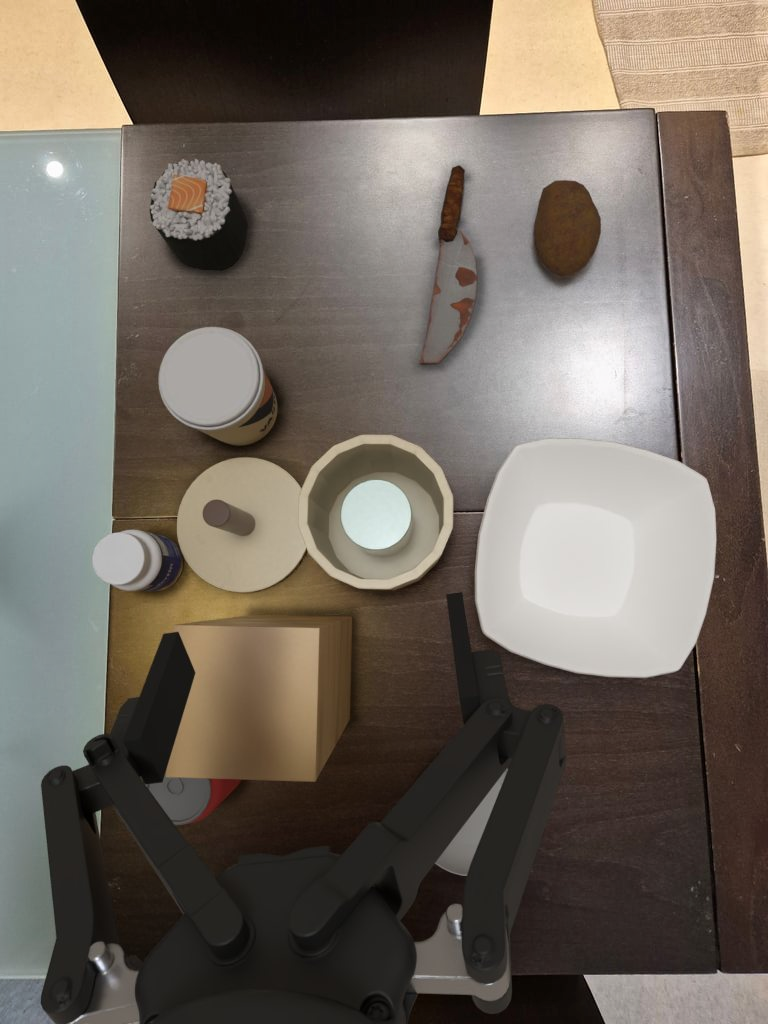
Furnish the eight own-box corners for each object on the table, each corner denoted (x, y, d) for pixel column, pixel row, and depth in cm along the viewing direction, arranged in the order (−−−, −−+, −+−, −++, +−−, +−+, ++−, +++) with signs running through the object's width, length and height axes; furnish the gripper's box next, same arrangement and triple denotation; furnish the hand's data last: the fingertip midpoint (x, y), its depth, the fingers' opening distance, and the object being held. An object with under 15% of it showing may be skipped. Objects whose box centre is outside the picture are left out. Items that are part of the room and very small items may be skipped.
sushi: (167, 268, 78) (139, 231, 70) (180, 194, 79) (154, 149, 71) (241, 276, 78) (221, 240, 70) (254, 202, 78) (235, 158, 70)
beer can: (218, 709, 73) (179, 732, 61) (264, 758, 72) (233, 791, 60) (170, 757, 72) (121, 789, 60) (215, 807, 72) (174, 849, 60)
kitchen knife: (465, 369, 75) (416, 360, 74) (462, 373, 76) (415, 364, 76) (498, 171, 76) (450, 161, 76) (494, 179, 78) (448, 169, 77)
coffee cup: (284, 454, 75) (259, 428, 63) (194, 453, 76) (152, 427, 64) (287, 365, 76) (262, 323, 64) (198, 365, 77) (157, 323, 65)
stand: (248, 716, 72) (165, 777, 49) (252, 614, 74) (172, 624, 50) (349, 719, 72) (315, 782, 48) (352, 616, 73) (319, 627, 49)
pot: (319, 588, 73) (295, 587, 59) (323, 464, 75) (300, 433, 60) (446, 591, 73) (452, 590, 58) (447, 465, 74) (453, 435, 60)
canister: (352, 556, 73) (339, 549, 61) (353, 497, 74) (341, 478, 62) (412, 557, 73) (411, 550, 61) (413, 497, 74) (412, 479, 62)
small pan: (403, 851, 70) (402, 865, 66) (431, 662, 72) (432, 666, 68) (515, 871, 70) (520, 887, 66) (541, 681, 71) (548, 685, 68)
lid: (177, 591, 74) (134, 590, 63) (183, 458, 76) (142, 435, 65) (310, 593, 73) (291, 593, 62) (314, 459, 75) (296, 436, 64)
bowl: (489, 440, 74) (498, 421, 66) (695, 476, 73) (732, 461, 64) (453, 643, 72) (458, 650, 64) (664, 684, 71) (698, 697, 62)
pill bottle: (153, 603, 74) (112, 604, 64) (118, 560, 75) (72, 555, 65) (196, 565, 74) (162, 561, 64) (161, 523, 75) (122, 512, 65)
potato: (587, 193, 77) (602, 158, 70) (600, 282, 76) (616, 255, 69) (524, 201, 77) (533, 167, 71) (536, 290, 76) (546, 263, 70)
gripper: (-159, 1317, 20) (97, 721, 38) (786, 1260, 18) (581, 658, 36) (-347, 1223, 16) (37, 610, 34) (830, 1135, 14) (576, 531, 32)
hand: (316, 634), depth 35 cm, fingers open, 13 cm apart
